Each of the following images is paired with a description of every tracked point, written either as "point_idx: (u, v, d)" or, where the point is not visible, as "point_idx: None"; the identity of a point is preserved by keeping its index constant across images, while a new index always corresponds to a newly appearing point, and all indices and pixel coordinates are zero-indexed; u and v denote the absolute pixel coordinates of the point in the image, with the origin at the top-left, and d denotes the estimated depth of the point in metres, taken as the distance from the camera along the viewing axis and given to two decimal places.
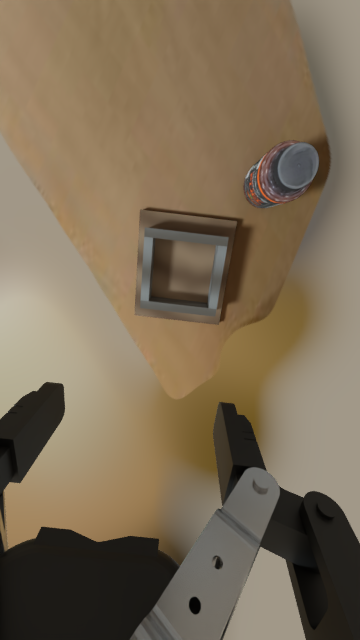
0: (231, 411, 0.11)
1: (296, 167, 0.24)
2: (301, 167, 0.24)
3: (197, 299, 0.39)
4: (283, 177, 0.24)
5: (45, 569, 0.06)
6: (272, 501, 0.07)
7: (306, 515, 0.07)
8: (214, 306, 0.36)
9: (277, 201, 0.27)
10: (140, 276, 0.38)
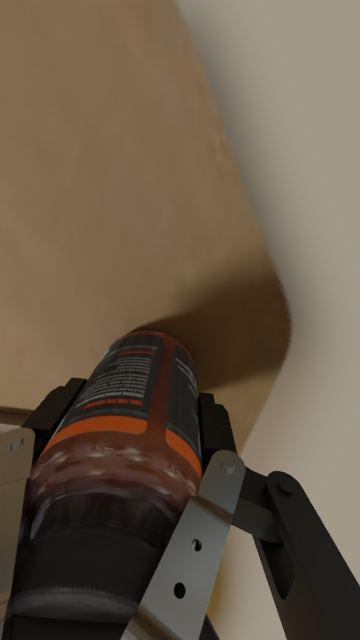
0: (209, 400, 0.12)
1: None
2: None
3: None
4: None
5: None
6: (237, 479, 0.08)
7: (270, 495, 0.08)
8: None
9: None
10: None
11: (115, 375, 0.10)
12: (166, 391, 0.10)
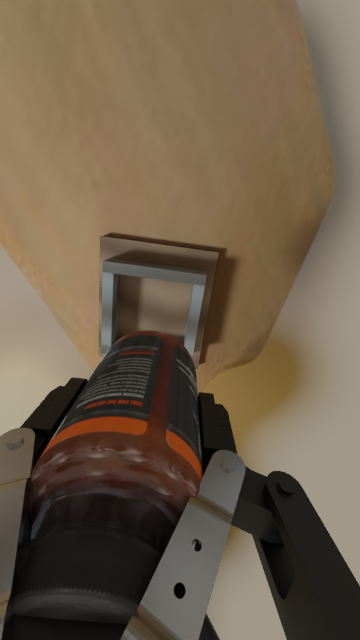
0: (209, 400, 0.12)
1: None
2: None
3: None
4: None
5: None
6: (236, 479, 0.08)
7: (270, 495, 0.08)
8: (190, 353, 0.30)
9: None
10: None
11: (115, 376, 0.10)
12: (166, 392, 0.10)
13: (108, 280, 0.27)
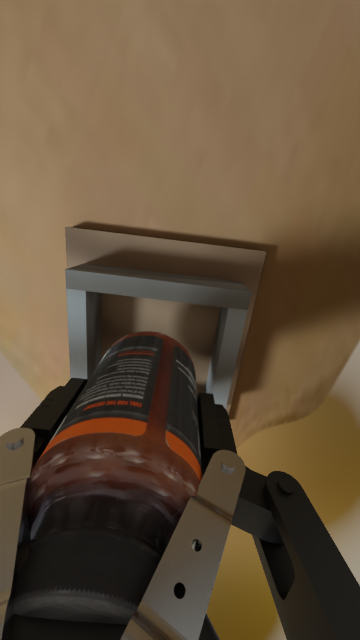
0: (209, 400, 0.12)
1: None
2: None
3: None
4: None
5: None
6: (237, 479, 0.08)
7: (270, 495, 0.08)
8: None
9: None
10: None
11: (115, 377, 0.10)
12: (166, 393, 0.10)
13: (77, 303, 0.15)
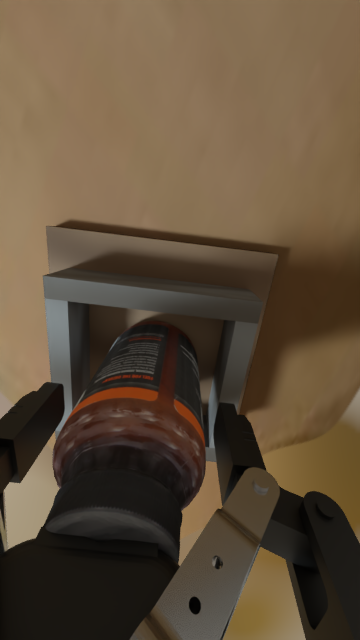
0: (231, 411, 0.11)
1: None
2: None
3: None
4: None
5: (45, 569, 0.06)
6: (272, 501, 0.07)
7: (306, 515, 0.07)
8: None
9: None
10: None
11: (128, 357, 0.11)
12: (173, 371, 0.11)
13: (58, 315, 0.13)
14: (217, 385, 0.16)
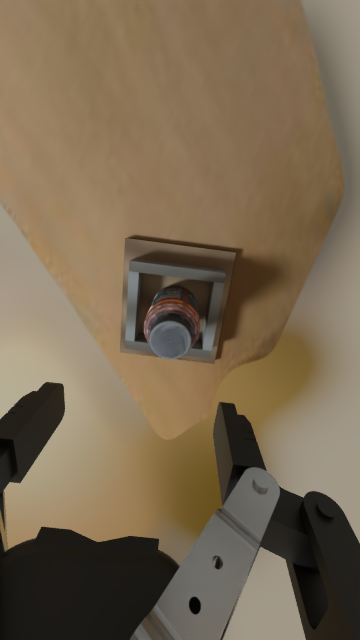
0: (231, 411, 0.11)
1: (167, 342, 0.23)
2: (172, 342, 0.23)
3: None
4: (156, 350, 0.23)
5: (45, 569, 0.06)
6: (272, 501, 0.07)
7: (306, 515, 0.07)
8: (209, 348, 0.32)
9: None
10: (126, 311, 0.33)
11: (168, 294, 0.27)
12: (187, 299, 0.27)
13: (134, 279, 0.29)
14: (206, 317, 0.32)
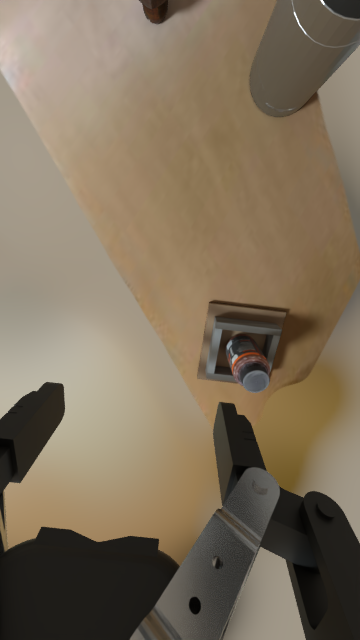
0: (231, 411, 0.11)
1: (254, 382, 0.36)
2: (258, 382, 0.36)
3: None
4: (246, 387, 0.36)
5: (45, 569, 0.06)
6: (272, 501, 0.07)
7: (306, 515, 0.07)
8: None
9: None
10: (205, 350, 0.47)
11: (245, 345, 0.41)
12: (258, 349, 0.40)
13: (218, 333, 0.42)
14: None
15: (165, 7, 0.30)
